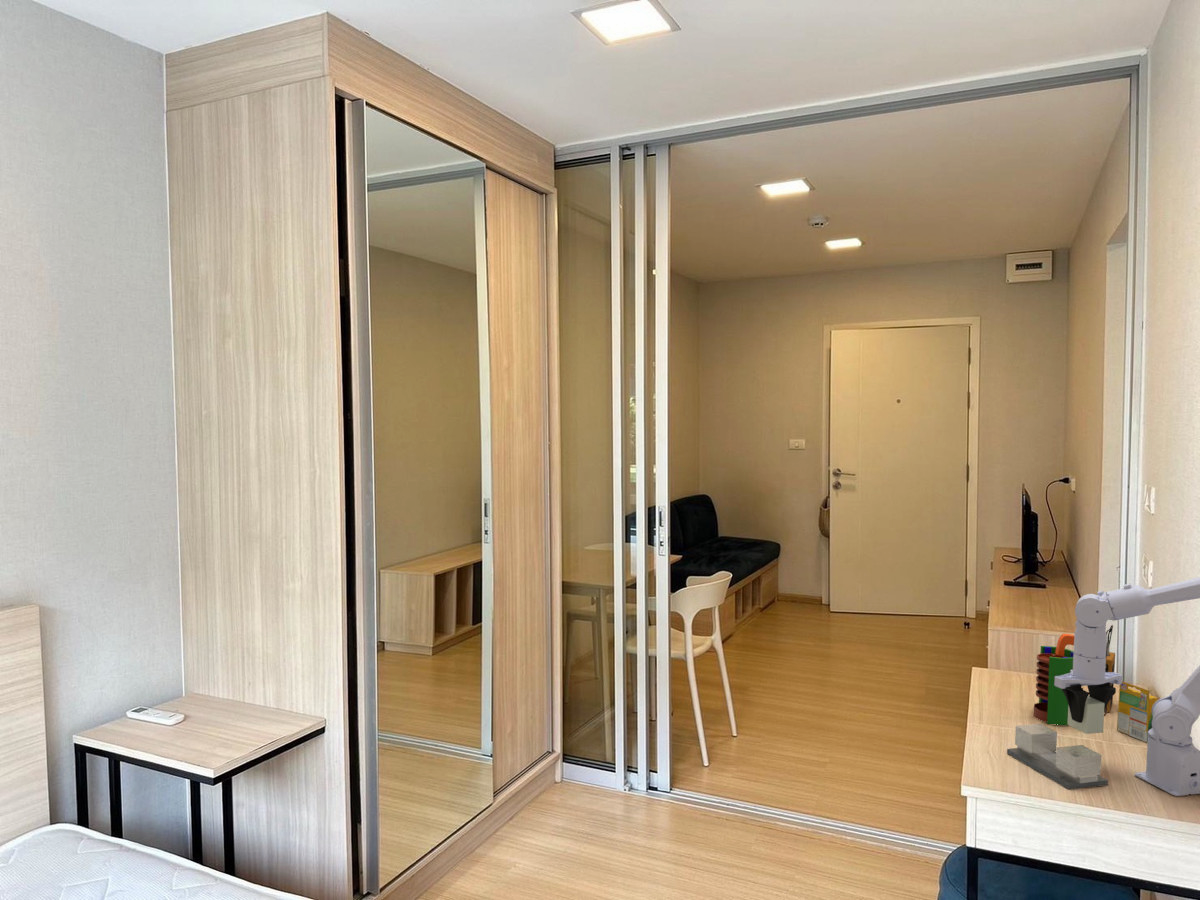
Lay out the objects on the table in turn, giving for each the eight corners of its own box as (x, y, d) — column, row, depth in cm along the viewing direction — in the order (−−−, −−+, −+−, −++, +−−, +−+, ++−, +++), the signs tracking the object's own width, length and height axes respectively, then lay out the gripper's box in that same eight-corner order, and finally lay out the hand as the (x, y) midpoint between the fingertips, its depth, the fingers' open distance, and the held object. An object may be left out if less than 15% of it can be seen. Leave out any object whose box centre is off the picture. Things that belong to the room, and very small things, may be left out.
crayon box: (1156, 741, 190) (1159, 689, 189) (1146, 743, 188) (1149, 690, 188) (1125, 729, 196) (1128, 679, 196) (1116, 730, 195) (1118, 680, 195)
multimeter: (1069, 692, 221) (1073, 615, 220) (1114, 700, 215) (1118, 621, 214) (1060, 708, 209) (1064, 627, 208) (1107, 718, 203) (1112, 634, 202)
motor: (1025, 709, 208) (1029, 627, 207) (1062, 710, 208) (1066, 628, 206) (1045, 725, 198) (1049, 639, 196) (1085, 726, 197) (1089, 640, 196)
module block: (1103, 732, 174) (1104, 703, 174) (1086, 733, 173) (1087, 704, 173) (1083, 723, 179) (1085, 694, 179) (1067, 724, 178) (1068, 696, 178)
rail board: (1107, 785, 167) (1109, 754, 167) (1068, 789, 165) (1070, 758, 165) (1043, 750, 184) (1044, 722, 183) (1007, 753, 182) (1008, 725, 181)
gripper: (1103, 646, 181) (1100, 710, 181) (1044, 650, 177) (1041, 715, 178) (1131, 656, 174) (1128, 722, 174) (1070, 660, 170) (1067, 728, 171)
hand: (1086, 720), depth 176 cm, fingers closed on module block, 4 cm apart
